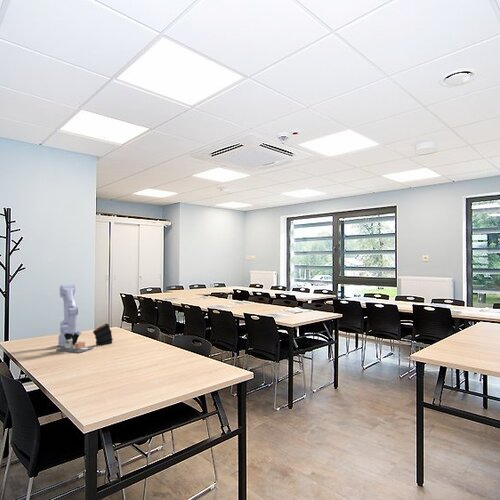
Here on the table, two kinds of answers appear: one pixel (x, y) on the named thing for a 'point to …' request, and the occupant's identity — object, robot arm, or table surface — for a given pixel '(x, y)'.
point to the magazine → (103, 335)
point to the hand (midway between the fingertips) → (71, 344)
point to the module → (69, 343)
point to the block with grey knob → (79, 345)
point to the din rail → (74, 349)
